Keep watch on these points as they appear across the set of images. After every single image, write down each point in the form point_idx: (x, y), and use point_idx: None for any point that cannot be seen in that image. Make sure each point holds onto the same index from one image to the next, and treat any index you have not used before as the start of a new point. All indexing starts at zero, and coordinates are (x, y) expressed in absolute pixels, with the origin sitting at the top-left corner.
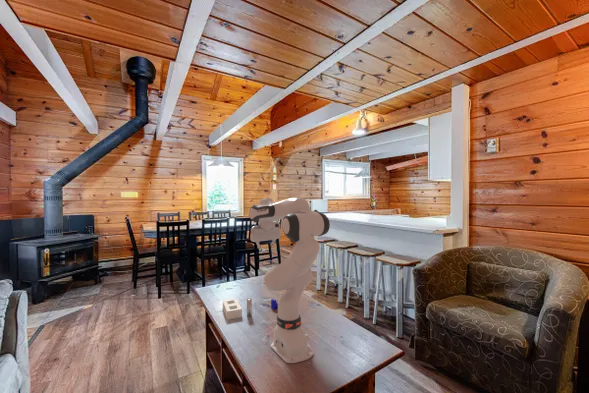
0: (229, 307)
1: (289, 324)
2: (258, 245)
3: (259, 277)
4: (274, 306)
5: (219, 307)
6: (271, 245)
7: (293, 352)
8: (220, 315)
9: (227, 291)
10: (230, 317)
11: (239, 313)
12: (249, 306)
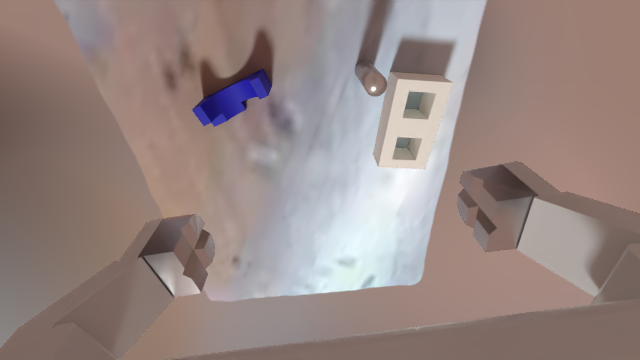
0: (424, 117)
1: None
2: (580, 198)
3: (241, 295)
4: (261, 72)
5: None
6: (198, 243)
7: None
8: None
9: (358, 248)
10: (431, 75)
11: (402, 75)
12: (374, 68)
